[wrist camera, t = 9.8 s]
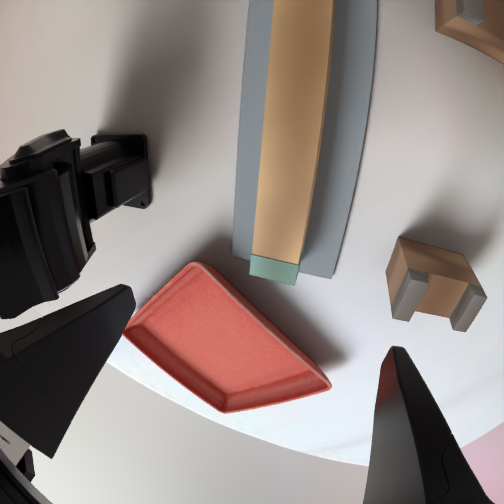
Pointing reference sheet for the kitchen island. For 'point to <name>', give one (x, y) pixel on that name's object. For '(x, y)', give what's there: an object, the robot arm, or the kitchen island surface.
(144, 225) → the kitchen island surface
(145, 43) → the kitchen island surface
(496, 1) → the post
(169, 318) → the plant saucer
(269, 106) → the rail
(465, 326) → the post
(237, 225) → the mat
